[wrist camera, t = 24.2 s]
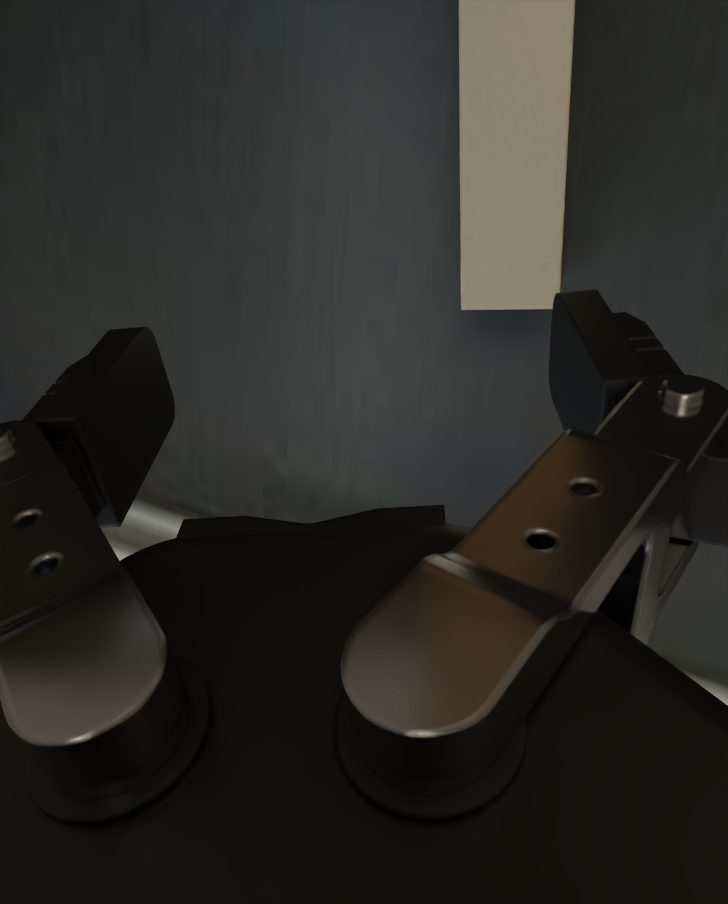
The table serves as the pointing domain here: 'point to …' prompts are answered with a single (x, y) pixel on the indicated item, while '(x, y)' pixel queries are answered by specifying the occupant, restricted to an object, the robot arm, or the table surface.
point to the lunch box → (513, 149)
